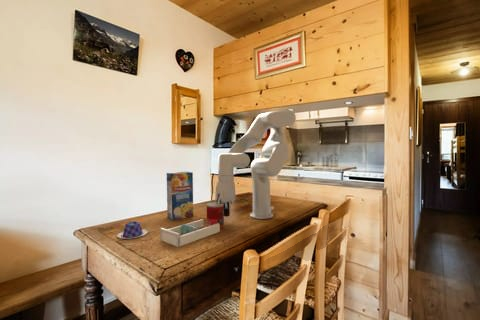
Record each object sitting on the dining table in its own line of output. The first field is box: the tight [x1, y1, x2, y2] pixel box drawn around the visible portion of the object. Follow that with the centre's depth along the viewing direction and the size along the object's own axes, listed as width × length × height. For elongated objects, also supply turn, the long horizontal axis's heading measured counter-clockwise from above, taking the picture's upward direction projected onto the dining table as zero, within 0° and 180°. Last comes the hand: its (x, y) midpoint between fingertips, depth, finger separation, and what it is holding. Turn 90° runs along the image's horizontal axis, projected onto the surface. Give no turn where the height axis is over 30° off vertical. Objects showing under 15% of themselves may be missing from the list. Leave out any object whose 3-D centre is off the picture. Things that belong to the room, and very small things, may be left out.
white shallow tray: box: [160, 218, 221, 248], centre depth 102 cm, size 22×12×5 cm, turn 140°
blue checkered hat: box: [116, 221, 149, 240], centre depth 104 cm, size 12×12×5 cm
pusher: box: [181, 223, 197, 235], centre depth 100 cm, size 2×9×4 cm, turn 50°
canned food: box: [206, 201, 225, 230], centre depth 112 cm, size 8×8×11 cm
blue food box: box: [166, 171, 194, 221], centre depth 131 cm, size 12×8×24 cm, turn 126°
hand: (226, 215), depth 118 cm, fingers closed
